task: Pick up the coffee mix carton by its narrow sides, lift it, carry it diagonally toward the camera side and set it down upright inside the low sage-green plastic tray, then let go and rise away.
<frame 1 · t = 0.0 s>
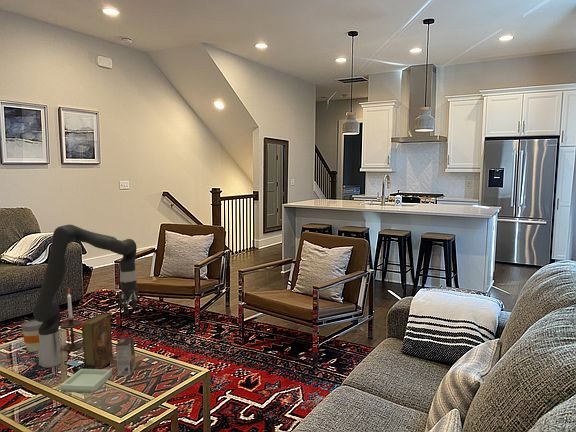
hand: (130, 311, 216), 29 cm above the table, fingers open, 8 cm apart
tray: (87, 383, 203), on the table
reusable coffee cup: (36, 348, 245), on the table
book: (100, 366, 221), on the table
candlestick: (73, 348, 244), on the table
coffee box: (126, 371, 214), on the table
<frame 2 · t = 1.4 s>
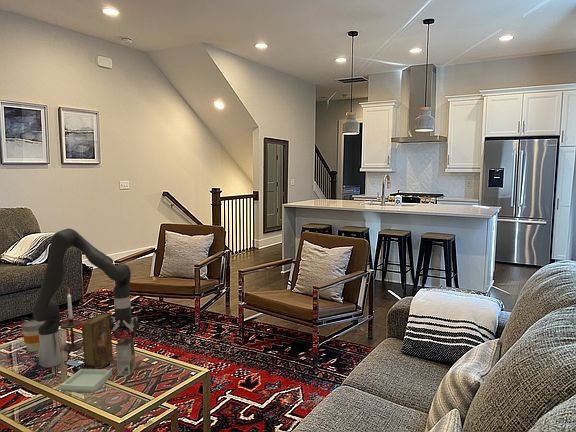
hand: (124, 337, 212), 17 cm above the table, fingers open, 8 cm apart
nothing on the table moved.
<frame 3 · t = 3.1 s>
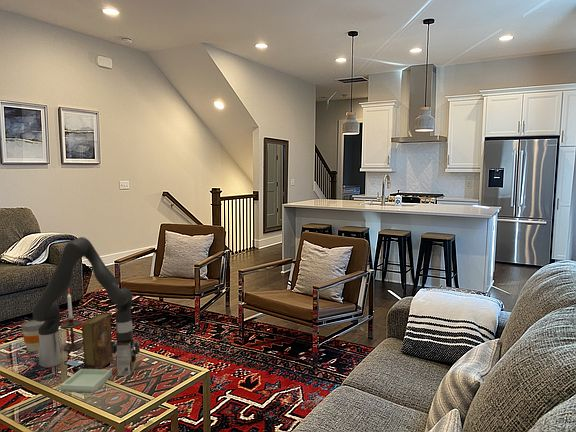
hand: (126, 361, 214), 5 cm above the table, fingers closed on coffee box, 7 cm apart
coffee box: (126, 371, 214), on the table, touching gripper
everything else where it was.
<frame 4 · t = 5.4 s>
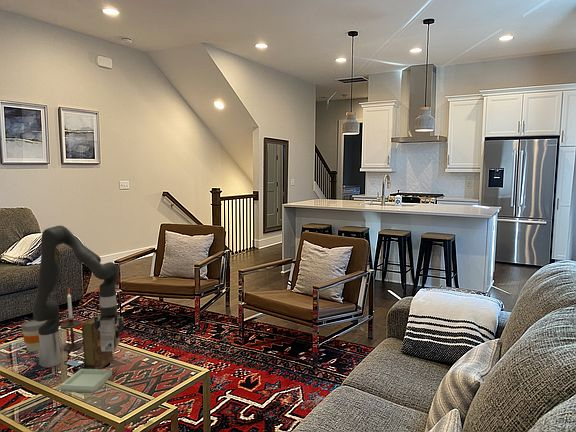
hand: (109, 337, 209), 19 cm above the table, fingers closed on coffee box, 7 cm apart
coffee box: (110, 347, 209), point 14 cm above the table, touching gripper
everything else where it was.
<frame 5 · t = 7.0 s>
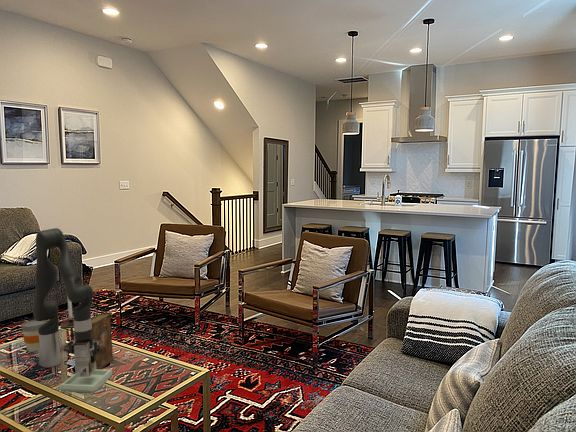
hand: (85, 362, 202), 10 cm above the table, fingers closed on coffee box, 7 cm apart
coffee box: (86, 373, 202), point 5 cm above the table, touching gripper
everything else where it was.
when the fingers open (7 cm above the table, at t = 8.2 s): coffee box drops 1 cm, resting on tray.
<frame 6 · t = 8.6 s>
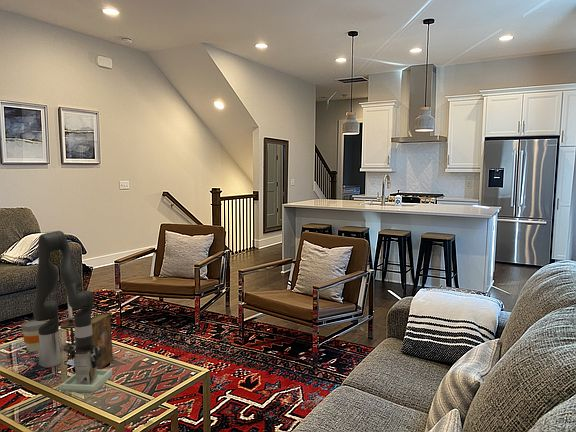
hand: (86, 367, 202), 8 cm above the table, fingers open, 8 cm apart
coffee box: (87, 381, 203), point 1 cm above the table, touching tray
everything else where it was.
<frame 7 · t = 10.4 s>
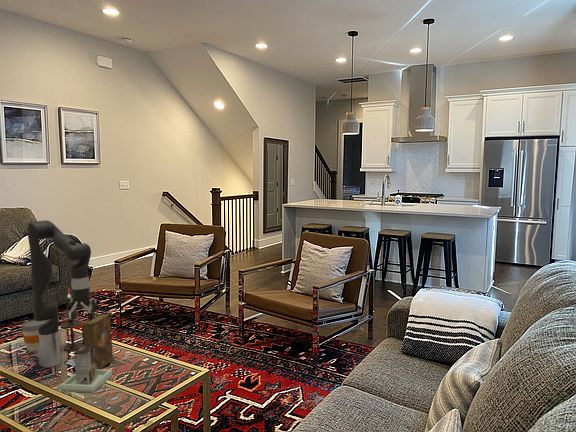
hand: (82, 319, 203), 30 cm above the table, fingers open, 8 cm apart
nothing on the table moved.
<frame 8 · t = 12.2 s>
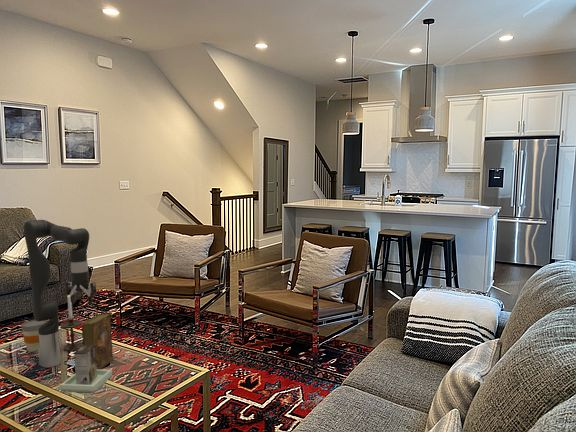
hand: (82, 303, 208), 36 cm above the table, fingers open, 8 cm apart
nothing on the table moved.
at the end: coffee box inside the target area on the tray (0.1 cm from its centre), point 0.8 cm above the tray's base; coffee box tilted 0°; the gripper is holding nothing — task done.
